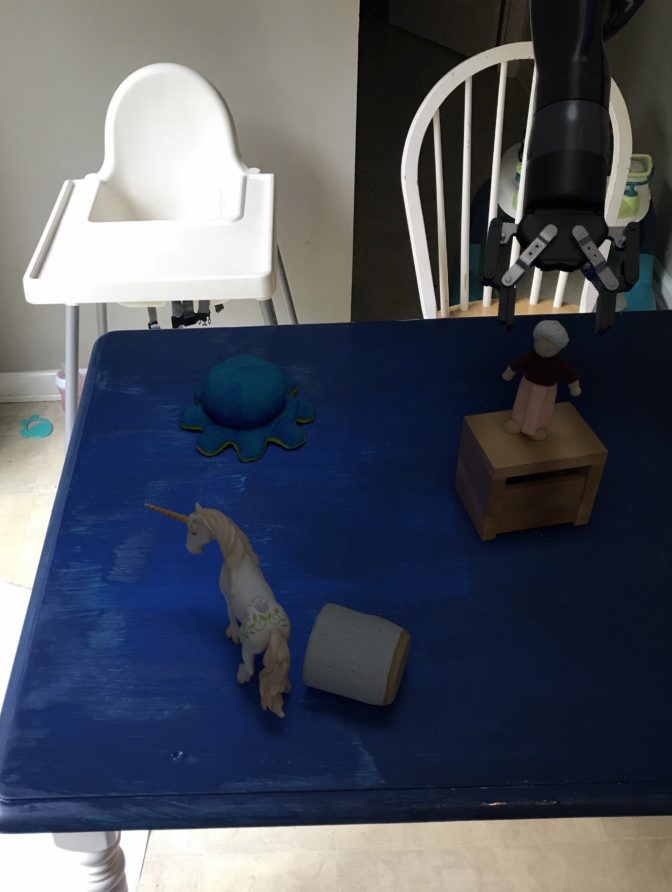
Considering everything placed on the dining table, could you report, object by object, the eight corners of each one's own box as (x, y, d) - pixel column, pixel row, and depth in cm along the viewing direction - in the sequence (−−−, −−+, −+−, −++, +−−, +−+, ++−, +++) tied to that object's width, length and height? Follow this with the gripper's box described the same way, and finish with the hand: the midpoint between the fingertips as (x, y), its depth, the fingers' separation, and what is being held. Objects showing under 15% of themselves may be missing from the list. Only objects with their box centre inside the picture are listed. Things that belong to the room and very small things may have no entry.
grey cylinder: (390, 727, 72) (395, 671, 67) (300, 701, 74) (299, 646, 69) (418, 636, 79) (424, 581, 74) (336, 616, 81) (337, 561, 76)
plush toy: (162, 452, 102) (152, 395, 96) (205, 376, 114) (199, 322, 108) (294, 469, 98) (292, 411, 93) (325, 390, 110) (324, 334, 105)
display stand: (553, 472, 96) (570, 401, 90) (588, 524, 90) (608, 451, 83) (454, 487, 95) (463, 416, 88) (482, 541, 88) (494, 468, 82)
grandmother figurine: (491, 435, 86) (508, 326, 77) (496, 414, 88) (514, 306, 80) (568, 448, 84) (595, 337, 75) (571, 426, 86) (597, 317, 78)
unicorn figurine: (223, 570, 87) (210, 471, 78) (340, 694, 75) (341, 594, 66) (163, 602, 84) (143, 503, 75) (275, 736, 72) (267, 637, 63)
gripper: (633, 184, 82) (621, 345, 82) (486, 180, 84) (474, 337, 84) (656, 147, 75) (643, 324, 74) (495, 144, 77) (481, 316, 76)
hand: (553, 331), depth 79 cm, fingers open, 8 cm apart
